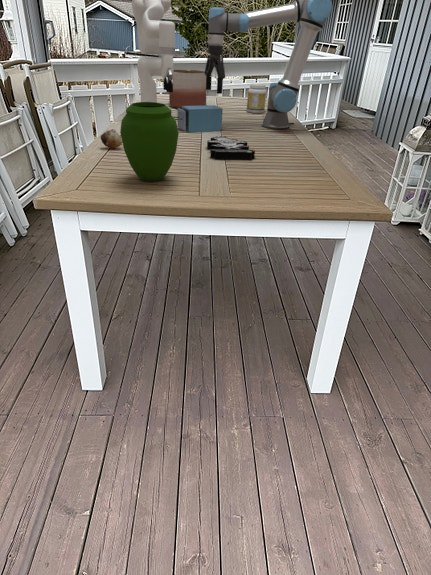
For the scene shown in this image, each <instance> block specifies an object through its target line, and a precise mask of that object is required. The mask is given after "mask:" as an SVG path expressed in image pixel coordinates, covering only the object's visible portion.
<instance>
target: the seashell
mask: <svg viewBox="0 0 431 575" xmlns="http://www.w3.org/2000/svg"><path fill="white" fill-rule="evenodd" d="M100 140H101V143H102V144H103V145H104V146H105V147H107V148H110V149H116V148H119V147H120V146H122V145H123V142H122V138H121V134H119V133H118V132H117V131H116V129H114V128H112V129H109V130H106V131H104V132H103V133H102V134H101V135H100Z"/></svg>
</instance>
